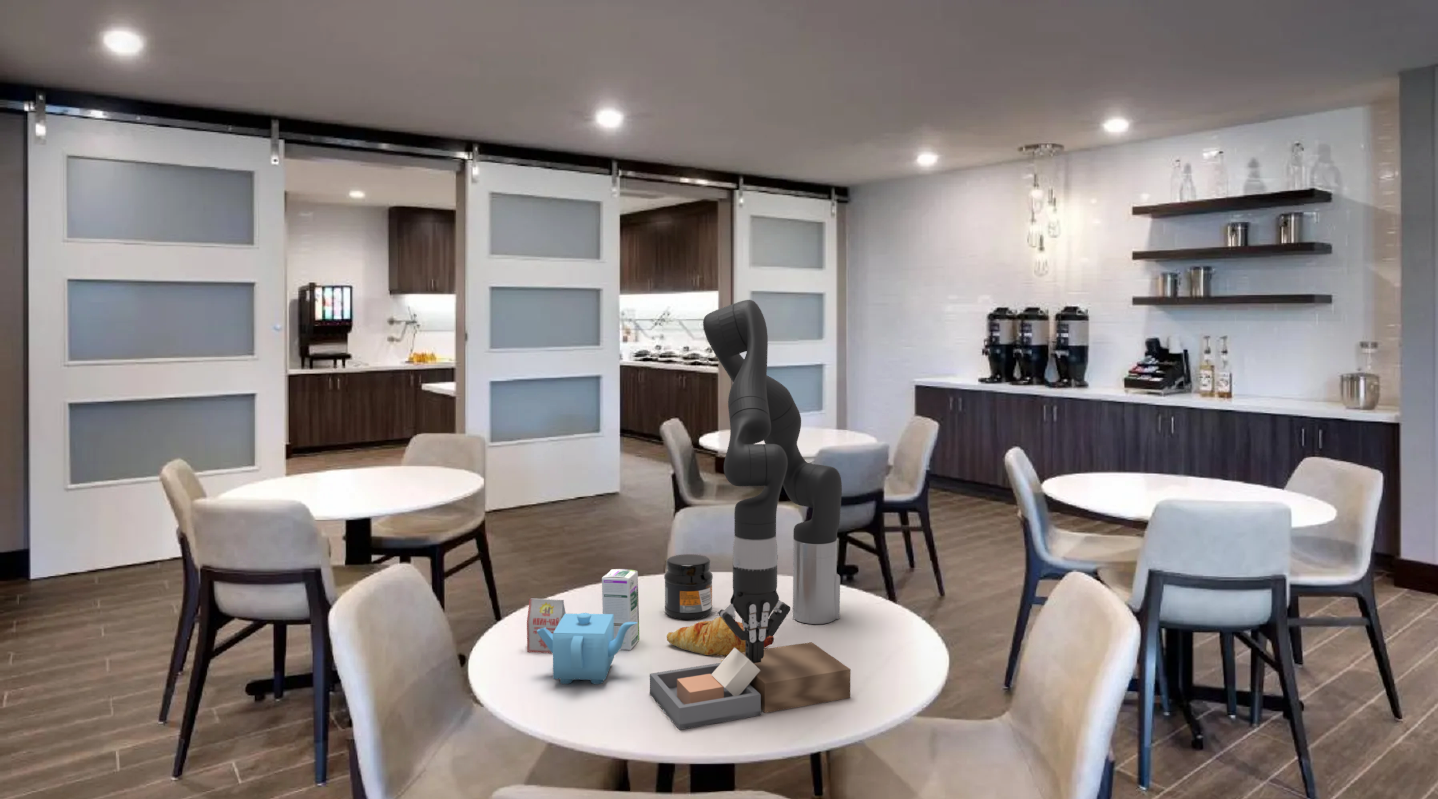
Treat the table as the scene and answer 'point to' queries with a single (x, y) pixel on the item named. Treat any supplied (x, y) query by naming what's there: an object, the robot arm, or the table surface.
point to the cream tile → (735, 672)
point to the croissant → (710, 638)
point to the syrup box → (622, 602)
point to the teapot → (584, 646)
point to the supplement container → (688, 587)
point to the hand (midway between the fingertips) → (754, 661)
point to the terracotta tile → (699, 689)
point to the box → (705, 711)
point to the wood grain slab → (799, 677)
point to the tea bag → (542, 621)
